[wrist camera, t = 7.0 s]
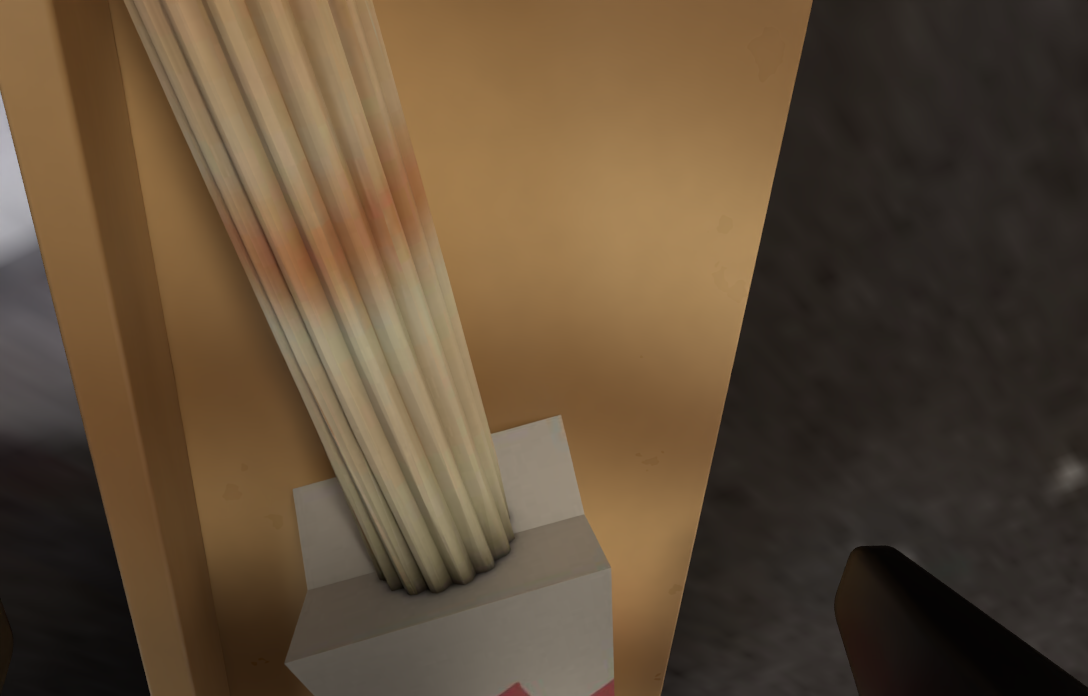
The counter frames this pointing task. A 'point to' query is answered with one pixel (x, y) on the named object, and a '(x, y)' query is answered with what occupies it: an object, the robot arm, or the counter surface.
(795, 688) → the counter surface
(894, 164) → the counter surface
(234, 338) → the shelf
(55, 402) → the counter surface
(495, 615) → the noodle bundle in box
